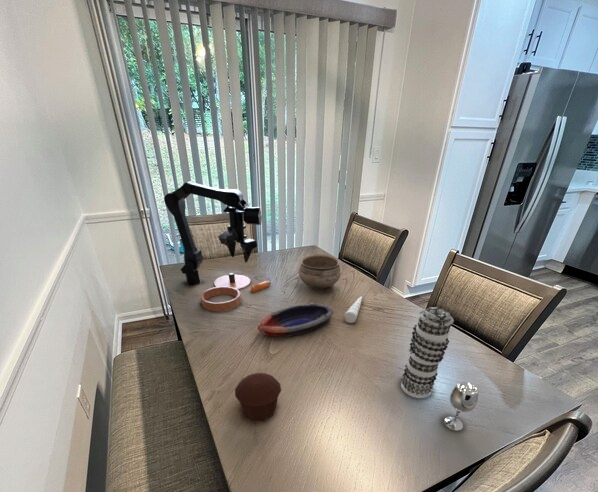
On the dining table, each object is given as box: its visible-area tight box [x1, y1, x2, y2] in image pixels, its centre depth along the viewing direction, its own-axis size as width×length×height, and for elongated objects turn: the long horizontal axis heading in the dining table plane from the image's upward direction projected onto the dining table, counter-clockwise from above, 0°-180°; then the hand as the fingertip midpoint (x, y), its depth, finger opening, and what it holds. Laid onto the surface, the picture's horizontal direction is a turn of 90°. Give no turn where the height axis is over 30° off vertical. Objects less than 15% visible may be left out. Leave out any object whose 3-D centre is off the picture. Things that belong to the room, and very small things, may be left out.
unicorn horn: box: [343, 295, 363, 324], centre depth 130 cm, size 5×24×5 cm, turn 156°
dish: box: [257, 303, 334, 337], centre depth 119 cm, size 16×31×5 cm, turn 118°
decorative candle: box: [400, 306, 455, 399], centre depth 86 cm, size 9×9×25 cm
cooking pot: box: [298, 253, 342, 290], centre depth 146 cm, size 25×19×12 cm
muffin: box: [234, 372, 282, 422], centre depth 83 cm, size 12×11×10 cm
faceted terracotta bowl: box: [200, 286, 242, 312], centre depth 133 cm, size 16×16×4 cm
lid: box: [213, 272, 252, 291], centre depth 149 cm, size 17×17×5 cm
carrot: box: [250, 280, 272, 293], centre depth 145 cm, size 11×3×3 cm, turn 138°
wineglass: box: [443, 381, 479, 431], centre depth 78 cm, size 6×6×12 cm
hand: (239, 259), depth 142 cm, fingers open, 9 cm apart
